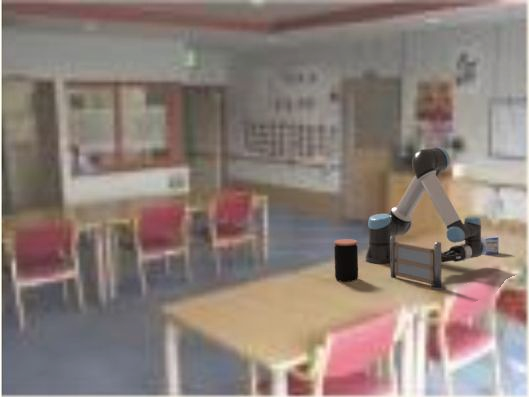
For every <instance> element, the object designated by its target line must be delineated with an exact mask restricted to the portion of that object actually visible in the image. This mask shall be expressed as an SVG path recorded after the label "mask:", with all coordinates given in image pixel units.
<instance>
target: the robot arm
mask: <svg viewBox="0 0 529 397" xmlns="http://www.w3.org/2000/svg"><path fill="white" fill-rule="evenodd" d="M450 163H451V159H450V155H449V152H448V151H447V150H446V149H444V148H442V147H431V148H424V149H423V148H422V149H420V150H417V151H416V152H415V154H414V155H413V157H412V160H411V166H412V171H413V173H414V176H413V178H412V180H411V182H410V183H409V185H408V187H407V189H406V191H404V194H403V195H402V197H401V199H400V200H399V202H398V204H397V206H394V207H392V208H391V210H390V211H389V213H377V214H373V215H370V217H369V218H368V223H367V224H368V225H367V226H368V228H367V230H368V247H367V251H366V253H365V261H367V263H368V262H369V263H371V264H373V263H374V264H388V263H390V237H392V236H394V237H395V238H396V237H399V236H403V235H405V234H407V233H408V232H409V231H410V230H411V228H412V225H413V224H412V220H413V213H414V211H415V210H416V207H417V206H418V204H419V202H421V200H422V198H423V196H424V195H425V193H427V195H428V196H429V199H430V200H431V202H432V204H433V205H434V207H435V209H436V211H437V212H438V214H439V217H440V218H441V220H442V223H444V225H445V228H446V239H447V240H448V241H450V242H451V243H454V244H455V243H461V242H463V241H464V243H461V244H458V245H452V246H451V247H450V248H449V249H447V250H446V251H441V263H447V262H455V263H458V262H462V261H463V262H465V261H467V260H469V259H474V258H478V257H481V256H482V255H485V254H484V253H485V251H486V246H485V244H484V243H483V242H482V241H481V238H482V223H481V222H482V221H481V218H480V217H479V216H478V217H477V216H467V217H466V218H464V222H463V221H462V220H461V218H460V216H459V214H458V212H457V211H456V209H455V207H454V205H453V204H452V202H451V200H450V198H449V196H448V194H447V192H446V191H445V189H444V187H443V185H442V183H441V181H440V180H439V178H438V177H440V174H441V172H442V171H445V170H446V169H448V167H449V166H450Z"/></svg>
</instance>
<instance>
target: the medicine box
mask: <svg viewBox="0 0 529 397" xmlns="http://www.w3.org/2000/svg"><path fill="white" fill-rule="evenodd" d="M481 241H482V242H483V243H484V244H485V246H486V251H485V253H484V254H483V255H485V256H488V255H489V254H490V255H497V254H499V247H500V246H499V242H500V241H499V237H497V236H483V237H481Z"/></svg>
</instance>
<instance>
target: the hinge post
mask: <svg viewBox="0 0 529 397" xmlns="http://www.w3.org/2000/svg"><path fill="white" fill-rule="evenodd" d="M433 249H434V285H432V284H430V290H437V291H438V290H439V291H440V290H441V291H446V284H445V283H444V284H443V283H442V261H441V252H442V242H440V241H435V242H433Z"/></svg>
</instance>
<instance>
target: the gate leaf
mask: <svg viewBox="0 0 529 397" xmlns="http://www.w3.org/2000/svg"><path fill="white" fill-rule="evenodd" d="M394 266H395V276H396V277H400V278H404V279H408V280H412V281H416V282H421V283H425V284H429V285H431V284H432V285H434V248H431V247H425V246H421V245H415V244H412V243H411V244H409V243H406V242H399V241H395V242H394Z"/></svg>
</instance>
